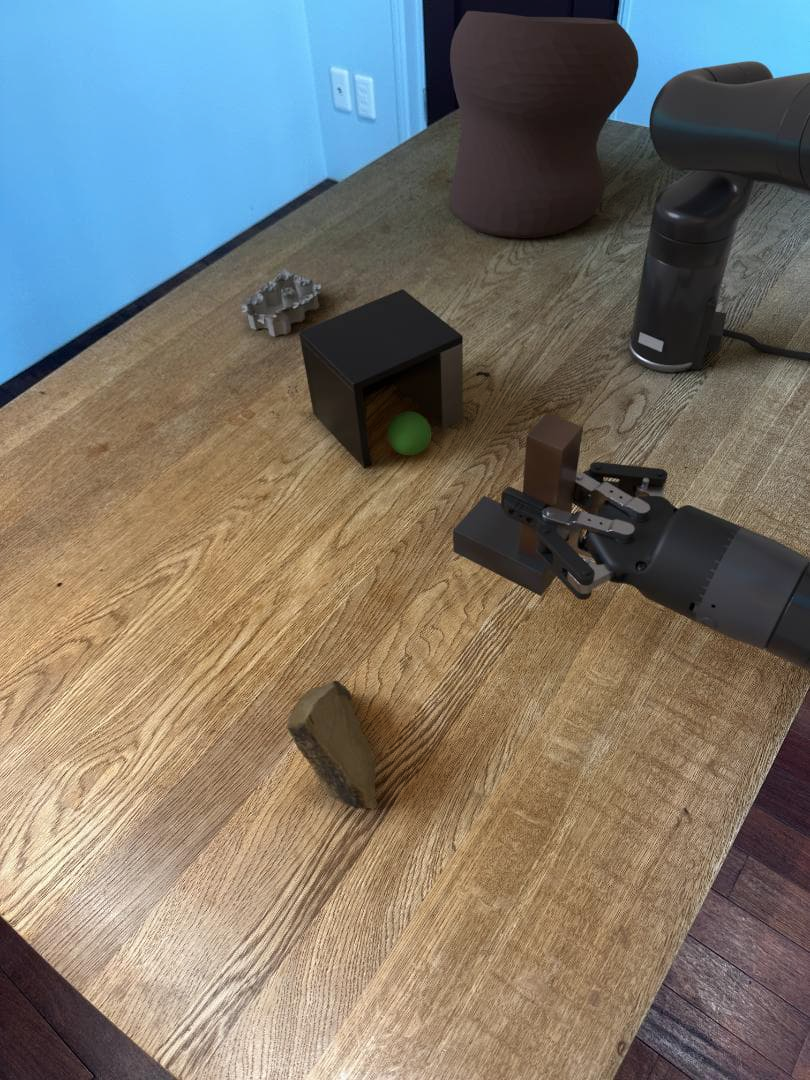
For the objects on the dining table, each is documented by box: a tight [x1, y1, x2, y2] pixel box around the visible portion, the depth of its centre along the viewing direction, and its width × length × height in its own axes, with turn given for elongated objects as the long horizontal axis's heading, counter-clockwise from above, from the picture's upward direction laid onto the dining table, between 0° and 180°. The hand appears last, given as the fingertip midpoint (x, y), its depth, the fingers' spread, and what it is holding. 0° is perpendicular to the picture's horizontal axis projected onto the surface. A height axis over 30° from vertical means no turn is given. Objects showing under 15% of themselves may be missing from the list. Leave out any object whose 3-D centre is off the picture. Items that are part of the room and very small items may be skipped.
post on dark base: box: [452, 412, 584, 597], centre depth 66 cm, size 9×5×16 cm, turn 54°
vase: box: [448, 10, 639, 239], centre depth 121 cm, size 27×27×30 cm
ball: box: [386, 410, 432, 456], centre depth 93 cm, size 5×5×5 cm
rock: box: [286, 680, 378, 810], centre depth 68 cm, size 11×9×10 cm
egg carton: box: [240, 268, 323, 338], centre depth 113 cm, size 11×8×4 cm
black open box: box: [298, 288, 464, 469], centre depth 94 cm, size 12×14×12 cm
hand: (516, 484), depth 65 cm, fingers closed on post on dark base, 3 cm apart
